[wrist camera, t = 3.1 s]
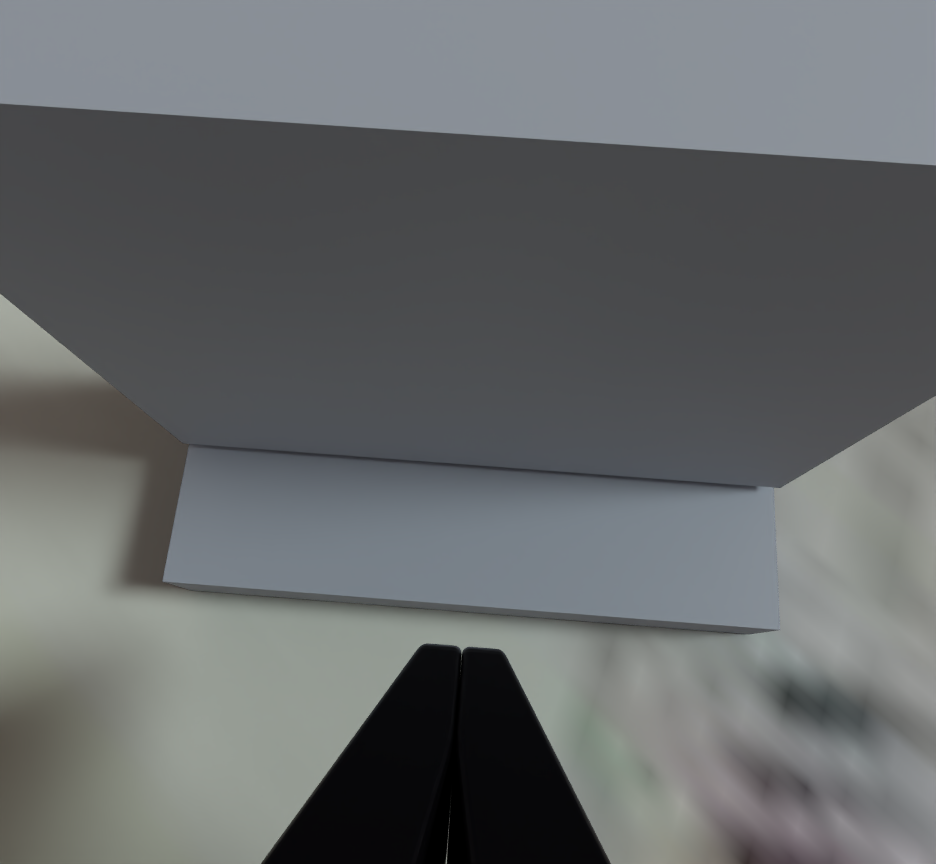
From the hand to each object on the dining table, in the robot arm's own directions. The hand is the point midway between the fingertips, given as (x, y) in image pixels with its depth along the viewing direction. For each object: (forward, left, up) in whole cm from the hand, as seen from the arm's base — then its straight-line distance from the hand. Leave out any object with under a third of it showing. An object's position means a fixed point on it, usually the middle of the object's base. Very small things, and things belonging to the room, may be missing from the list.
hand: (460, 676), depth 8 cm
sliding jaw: (+4, +2, -5) cm, 7 cm away
